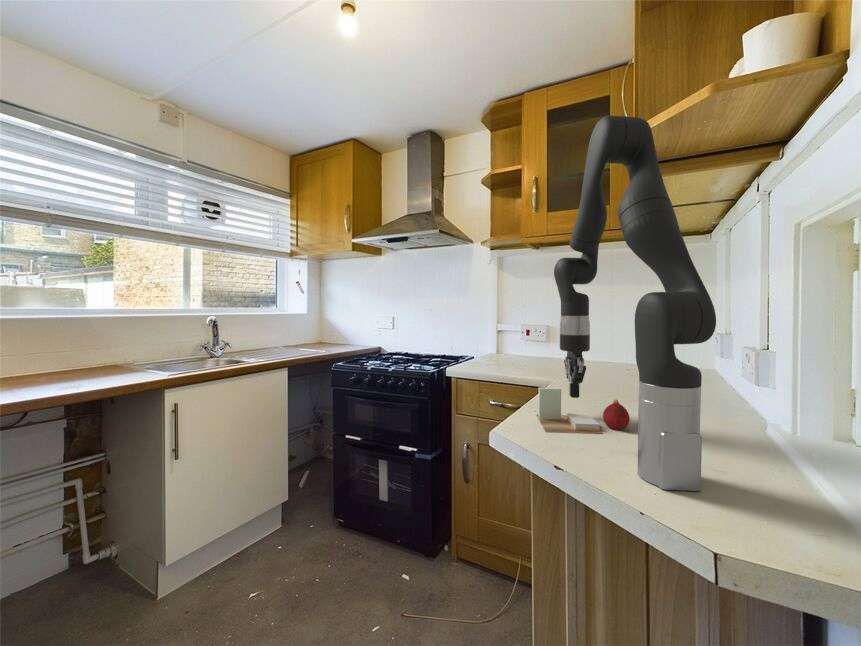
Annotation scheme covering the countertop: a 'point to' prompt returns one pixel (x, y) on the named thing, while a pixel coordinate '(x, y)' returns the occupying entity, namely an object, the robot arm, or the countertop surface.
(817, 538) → the countertop surface
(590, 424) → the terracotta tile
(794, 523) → the countertop surface
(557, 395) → the sage tile
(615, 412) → the onion
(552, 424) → the walnut board
